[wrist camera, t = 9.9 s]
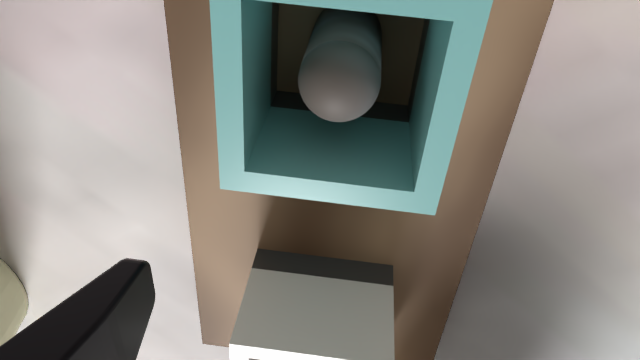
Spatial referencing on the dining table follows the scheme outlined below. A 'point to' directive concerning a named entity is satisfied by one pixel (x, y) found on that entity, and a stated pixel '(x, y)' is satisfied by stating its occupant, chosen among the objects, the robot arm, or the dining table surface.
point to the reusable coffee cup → (11, 303)
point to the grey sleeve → (315, 309)
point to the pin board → (339, 222)
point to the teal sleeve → (341, 137)
